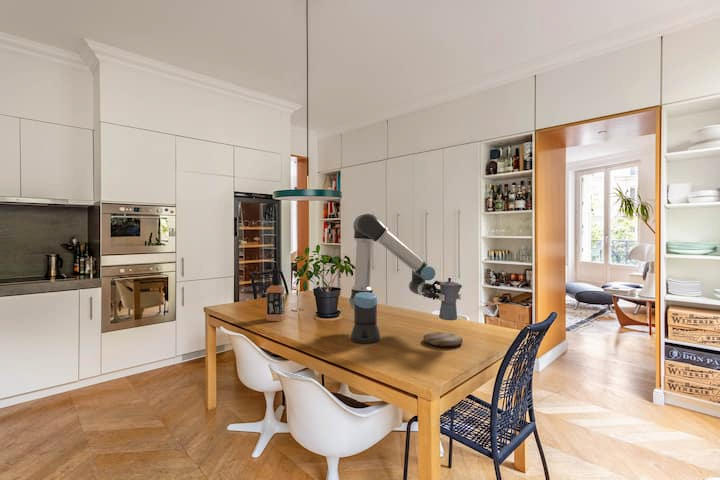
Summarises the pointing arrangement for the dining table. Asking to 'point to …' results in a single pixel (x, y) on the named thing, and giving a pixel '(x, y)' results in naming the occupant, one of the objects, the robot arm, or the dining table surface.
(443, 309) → the moka pot
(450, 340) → the disc
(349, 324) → the dining table surface
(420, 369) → the dining table surface
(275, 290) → the whiskey bottle
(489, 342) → the dining table surface
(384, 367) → the dining table surface
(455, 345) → the turntable base
